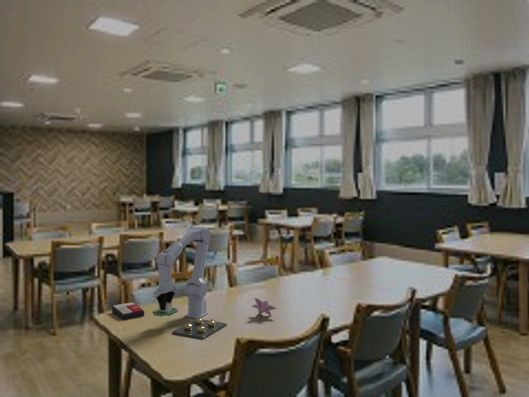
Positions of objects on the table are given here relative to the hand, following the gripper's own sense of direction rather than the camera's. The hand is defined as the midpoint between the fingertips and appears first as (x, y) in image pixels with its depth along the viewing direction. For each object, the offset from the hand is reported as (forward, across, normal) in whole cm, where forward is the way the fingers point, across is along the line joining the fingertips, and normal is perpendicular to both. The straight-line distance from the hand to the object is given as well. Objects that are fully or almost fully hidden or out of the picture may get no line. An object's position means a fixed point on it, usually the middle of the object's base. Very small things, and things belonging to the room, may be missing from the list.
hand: (165, 308), depth 205 cm
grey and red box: (+9, -8, -29) cm, 31 cm away
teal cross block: (+2, 0, 0) cm, 2 cm away
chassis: (+9, -5, +16) cm, 18 cm away
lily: (+9, -34, +33) cm, 49 cm away
